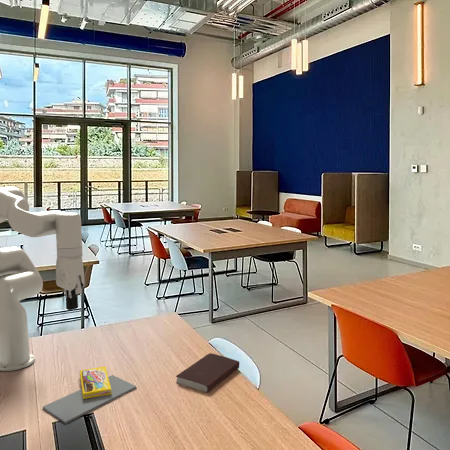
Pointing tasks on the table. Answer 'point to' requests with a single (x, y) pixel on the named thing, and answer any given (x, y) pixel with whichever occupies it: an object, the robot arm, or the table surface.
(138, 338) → the table surface
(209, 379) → the book
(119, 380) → the mat
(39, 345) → the table surface
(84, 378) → the candy box
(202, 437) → the table surface
